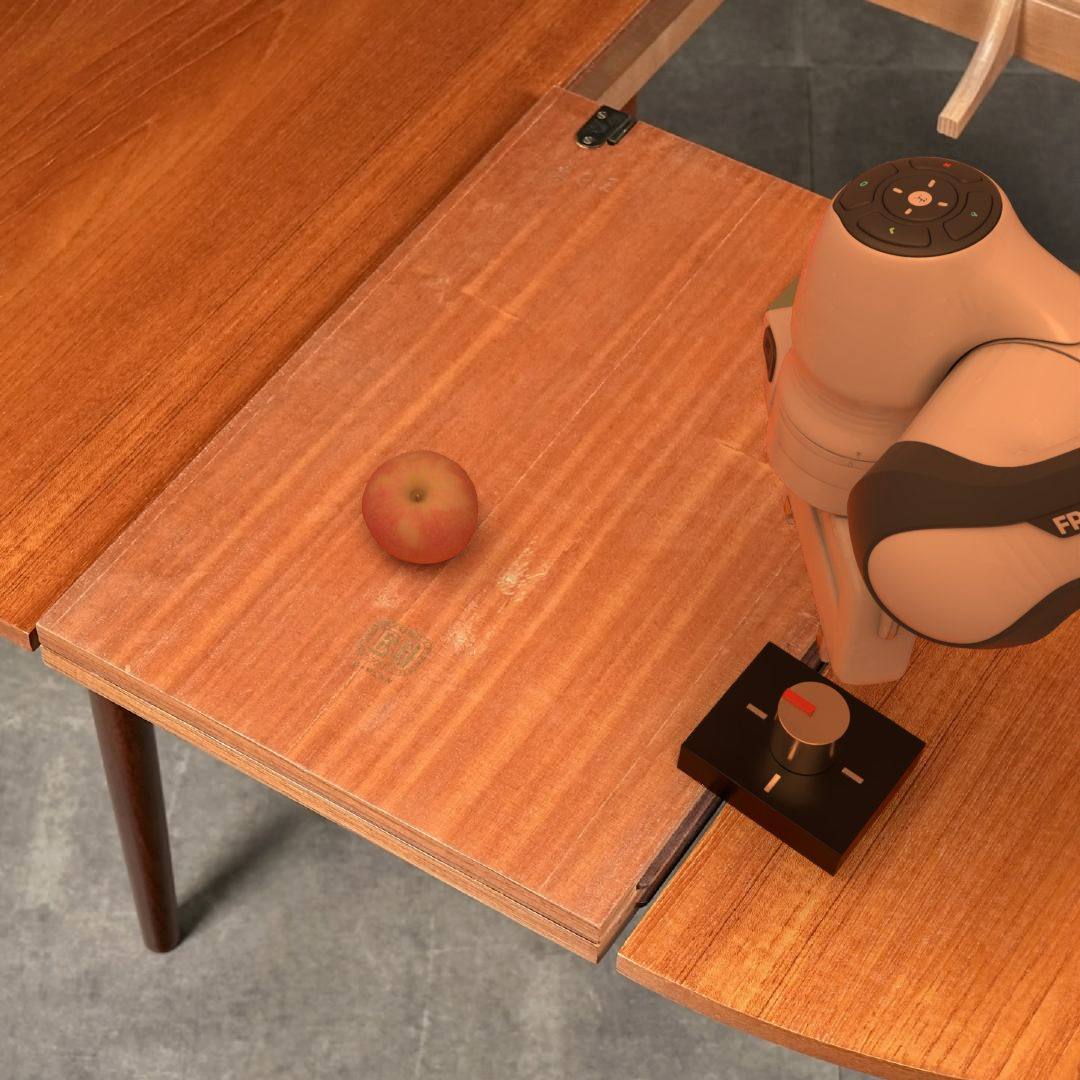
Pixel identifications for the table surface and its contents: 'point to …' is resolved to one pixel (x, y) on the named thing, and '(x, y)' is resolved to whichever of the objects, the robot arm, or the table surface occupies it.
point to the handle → (809, 728)
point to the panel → (782, 795)
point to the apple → (421, 507)
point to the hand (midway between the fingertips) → (814, 580)
